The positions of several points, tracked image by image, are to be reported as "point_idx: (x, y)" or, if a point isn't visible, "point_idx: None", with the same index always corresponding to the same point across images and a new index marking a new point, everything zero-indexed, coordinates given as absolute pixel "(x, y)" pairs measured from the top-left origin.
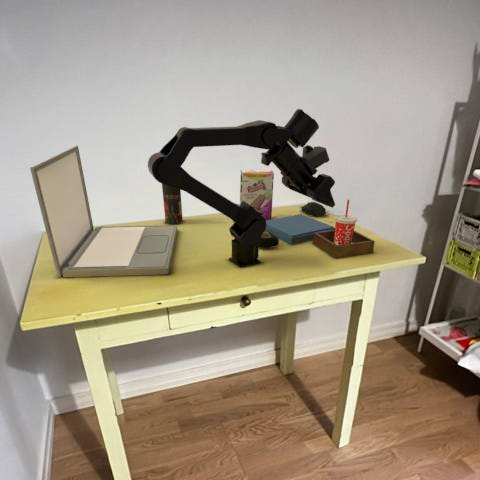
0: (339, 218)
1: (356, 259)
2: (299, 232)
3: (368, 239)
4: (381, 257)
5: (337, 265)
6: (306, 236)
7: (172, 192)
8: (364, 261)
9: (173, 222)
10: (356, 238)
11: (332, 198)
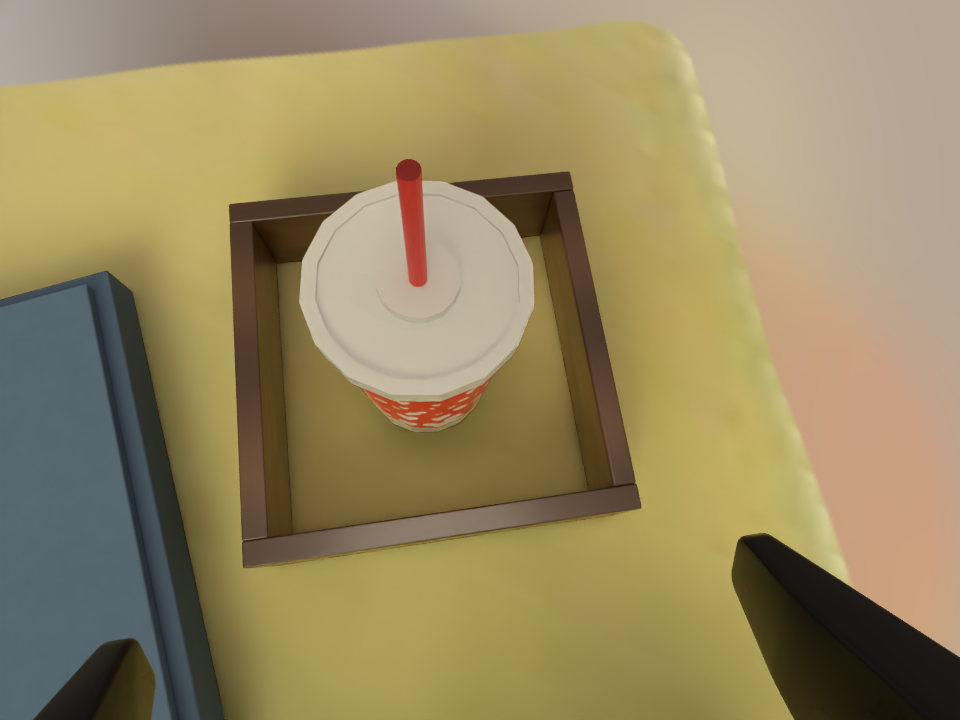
0: (407, 351)
1: (648, 371)
2: None
3: (524, 195)
4: (636, 206)
5: None
6: (183, 604)
7: None
8: (687, 337)
9: None
10: None
11: (934, 651)
